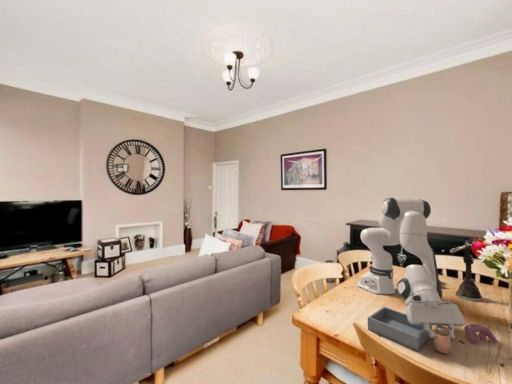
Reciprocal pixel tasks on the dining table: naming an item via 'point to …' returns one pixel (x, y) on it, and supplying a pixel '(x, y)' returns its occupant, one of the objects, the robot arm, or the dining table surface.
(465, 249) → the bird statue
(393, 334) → the bin
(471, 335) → the purple animal figurine
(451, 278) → the dining table surface
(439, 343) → the jar
